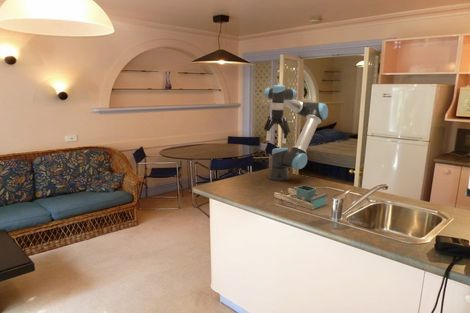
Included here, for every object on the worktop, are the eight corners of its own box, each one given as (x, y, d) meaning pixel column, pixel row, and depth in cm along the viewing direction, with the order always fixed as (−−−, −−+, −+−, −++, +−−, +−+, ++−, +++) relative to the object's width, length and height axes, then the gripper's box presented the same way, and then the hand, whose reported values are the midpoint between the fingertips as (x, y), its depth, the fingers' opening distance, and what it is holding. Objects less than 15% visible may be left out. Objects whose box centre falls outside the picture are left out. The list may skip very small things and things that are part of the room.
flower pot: (315, 202, 201) (316, 188, 199) (307, 205, 194) (308, 191, 193) (302, 198, 207) (303, 184, 205) (294, 202, 200) (295, 187, 199)
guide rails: (289, 192, 218) (289, 185, 217) (326, 204, 198) (327, 196, 197) (274, 197, 208) (274, 189, 207) (312, 209, 188) (312, 201, 187)
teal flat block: (323, 203, 200) (324, 193, 198) (326, 204, 198) (327, 194, 197) (309, 208, 190) (309, 198, 188) (312, 209, 188) (312, 199, 187)
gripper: (259, 108, 223) (258, 139, 227) (289, 110, 205) (287, 145, 209) (267, 108, 228) (265, 138, 232) (296, 110, 210) (294, 144, 214)
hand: (275, 141), depth 221 cm, fingers open, 13 cm apart
